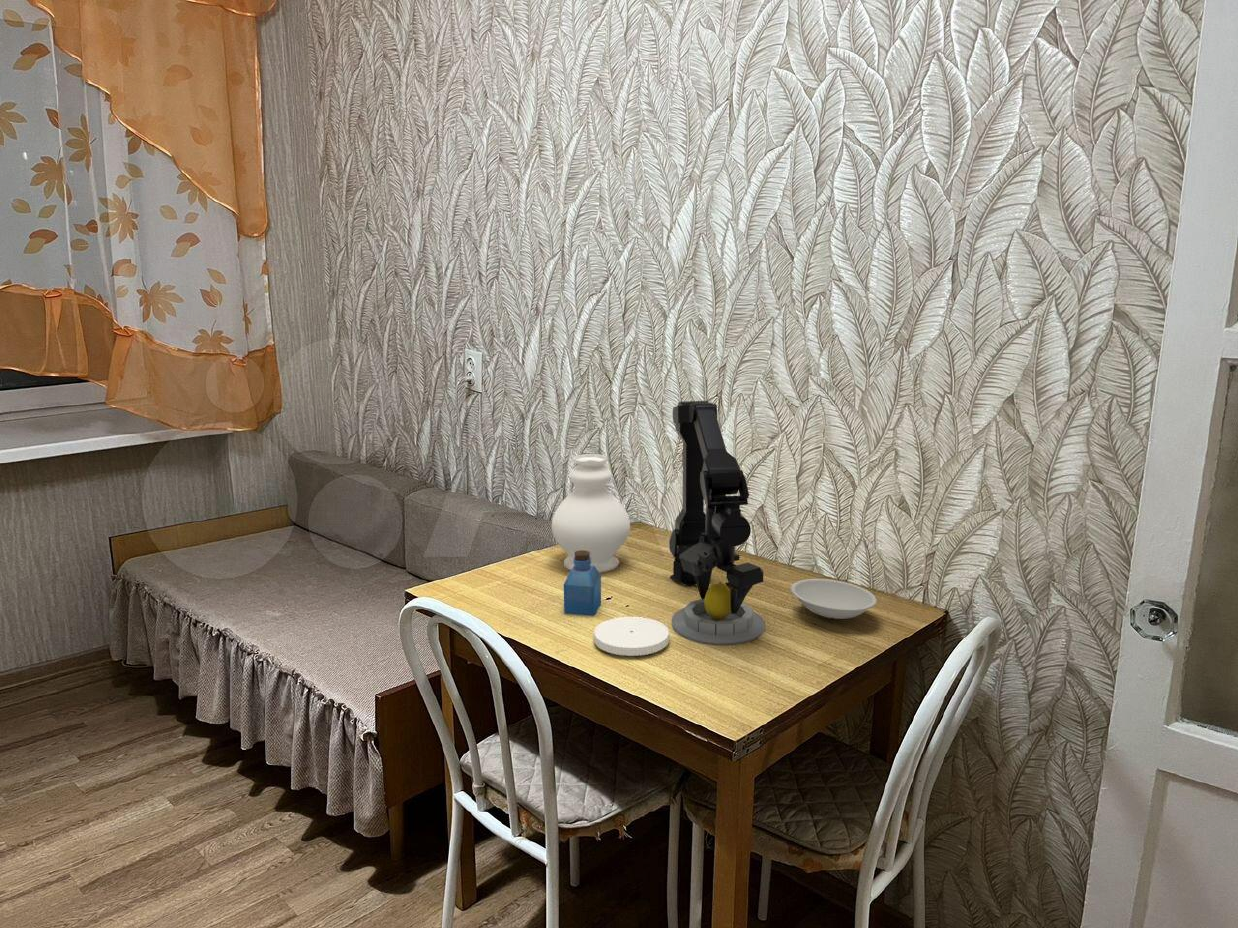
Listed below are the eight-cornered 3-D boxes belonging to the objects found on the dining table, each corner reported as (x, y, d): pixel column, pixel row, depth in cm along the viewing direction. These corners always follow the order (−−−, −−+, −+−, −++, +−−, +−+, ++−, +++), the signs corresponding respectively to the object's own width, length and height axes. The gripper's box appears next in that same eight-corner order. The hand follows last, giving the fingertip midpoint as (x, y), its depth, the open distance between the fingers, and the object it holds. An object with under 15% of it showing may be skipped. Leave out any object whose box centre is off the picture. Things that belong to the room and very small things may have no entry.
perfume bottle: (594, 616, 189) (593, 559, 186) (564, 613, 190) (563, 556, 187) (601, 604, 195) (600, 548, 192) (571, 601, 196) (571, 546, 193)
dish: (773, 613, 190) (774, 589, 189) (818, 595, 199) (819, 572, 198) (846, 641, 177) (848, 616, 176) (890, 621, 186) (892, 597, 185)
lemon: (700, 614, 186) (703, 576, 184) (728, 614, 187) (731, 577, 185) (705, 626, 181) (708, 587, 179) (734, 626, 182) (737, 588, 180)
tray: (722, 600, 196) (722, 586, 196) (784, 629, 182) (785, 615, 181) (653, 620, 186) (653, 606, 186) (713, 653, 172) (713, 637, 171)
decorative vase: (644, 559, 220) (645, 454, 214) (602, 583, 206) (601, 471, 200) (581, 546, 230) (580, 445, 224) (536, 567, 215) (534, 461, 209)
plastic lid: (684, 646, 176) (684, 634, 175) (626, 668, 167) (626, 654, 167) (636, 622, 186) (636, 610, 186) (578, 641, 178) (578, 629, 177)
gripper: (656, 524, 182) (656, 599, 186) (721, 550, 168) (718, 632, 171) (701, 514, 189) (699, 587, 192) (766, 538, 174) (763, 618, 178)
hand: (718, 605), depth 183 cm, fingers open, 9 cm apart
